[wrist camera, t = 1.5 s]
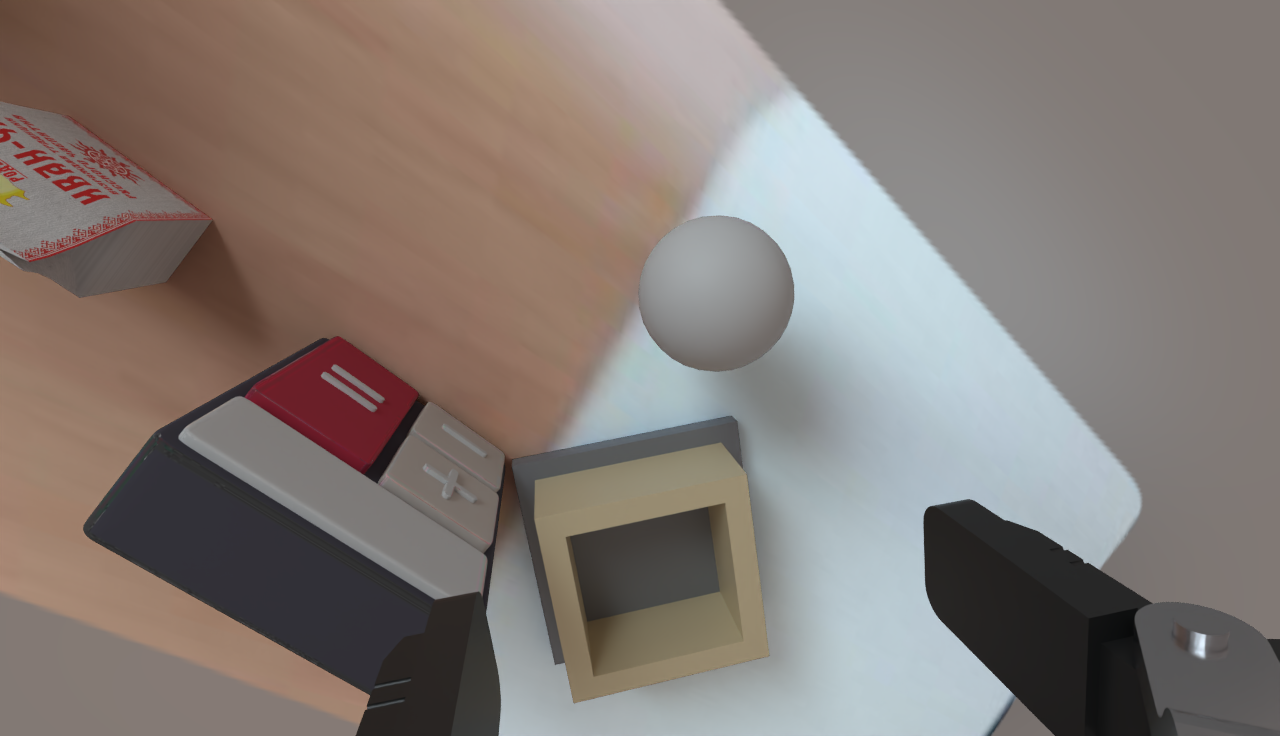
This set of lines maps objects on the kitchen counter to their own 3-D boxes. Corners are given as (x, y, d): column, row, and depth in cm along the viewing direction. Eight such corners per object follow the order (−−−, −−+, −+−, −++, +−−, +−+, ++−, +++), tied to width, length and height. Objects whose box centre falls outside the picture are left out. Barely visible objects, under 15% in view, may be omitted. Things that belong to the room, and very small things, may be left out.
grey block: (166, 282, 30) (-8, 313, 21) (20, 183, 29) (-243, 167, 19) (212, 219, 30) (59, 222, 20) (68, 115, 28) (-174, 65, 19)
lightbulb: (752, 245, 34) (849, 259, 23) (703, 352, 35) (774, 412, 24) (646, 195, 33) (697, 185, 22) (597, 308, 34) (624, 350, 23)
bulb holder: (512, 459, 35) (507, 503, 29) (731, 415, 36) (764, 450, 31) (554, 653, 38) (557, 724, 32) (755, 606, 39) (790, 668, 34)
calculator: (516, 452, 35) (500, 622, 20) (466, 513, 35) (414, 723, 21) (334, 322, 32) (164, 411, 17) (281, 390, 32) (71, 532, 18)
